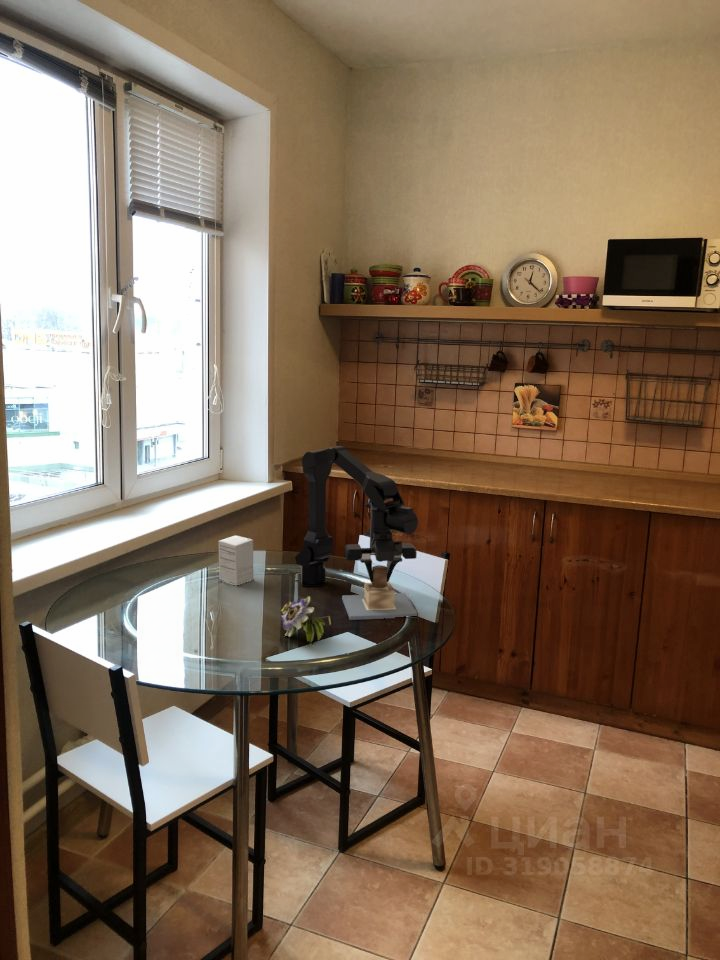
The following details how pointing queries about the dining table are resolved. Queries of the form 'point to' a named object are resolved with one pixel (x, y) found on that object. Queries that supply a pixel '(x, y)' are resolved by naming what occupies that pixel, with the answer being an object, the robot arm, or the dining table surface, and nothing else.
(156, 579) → the dining table surface
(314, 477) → the robot arm
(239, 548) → the supplement box
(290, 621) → the passion flower
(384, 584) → the walnut peg
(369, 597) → the oak socket block
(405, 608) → the grey rectangular plate
